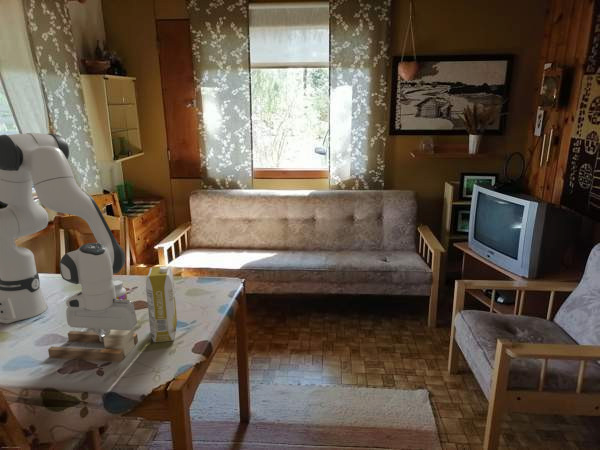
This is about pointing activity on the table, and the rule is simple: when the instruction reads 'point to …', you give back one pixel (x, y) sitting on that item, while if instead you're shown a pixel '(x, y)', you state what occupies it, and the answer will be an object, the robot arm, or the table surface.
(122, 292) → the supplement bottle
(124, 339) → the block
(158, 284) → the juice carton
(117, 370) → the table surface
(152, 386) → the table surface
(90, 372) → the table surface
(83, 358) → the chute
